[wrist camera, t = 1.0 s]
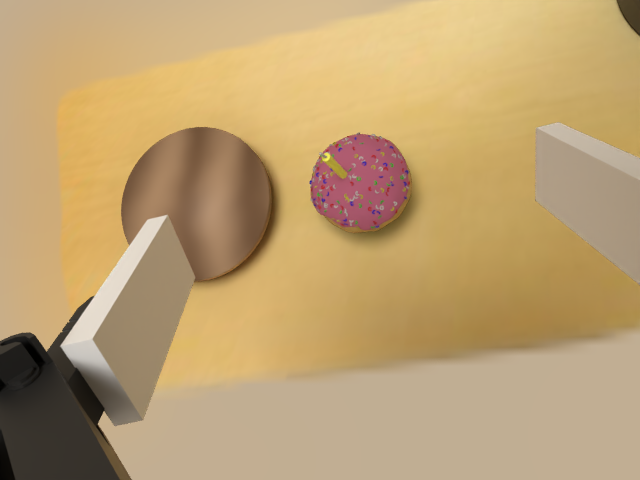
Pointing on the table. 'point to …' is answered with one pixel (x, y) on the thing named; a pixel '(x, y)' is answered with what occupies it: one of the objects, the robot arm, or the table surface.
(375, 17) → the table surface
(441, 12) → the table surface
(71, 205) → the table surface
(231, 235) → the brown plate
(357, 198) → the cupcake
